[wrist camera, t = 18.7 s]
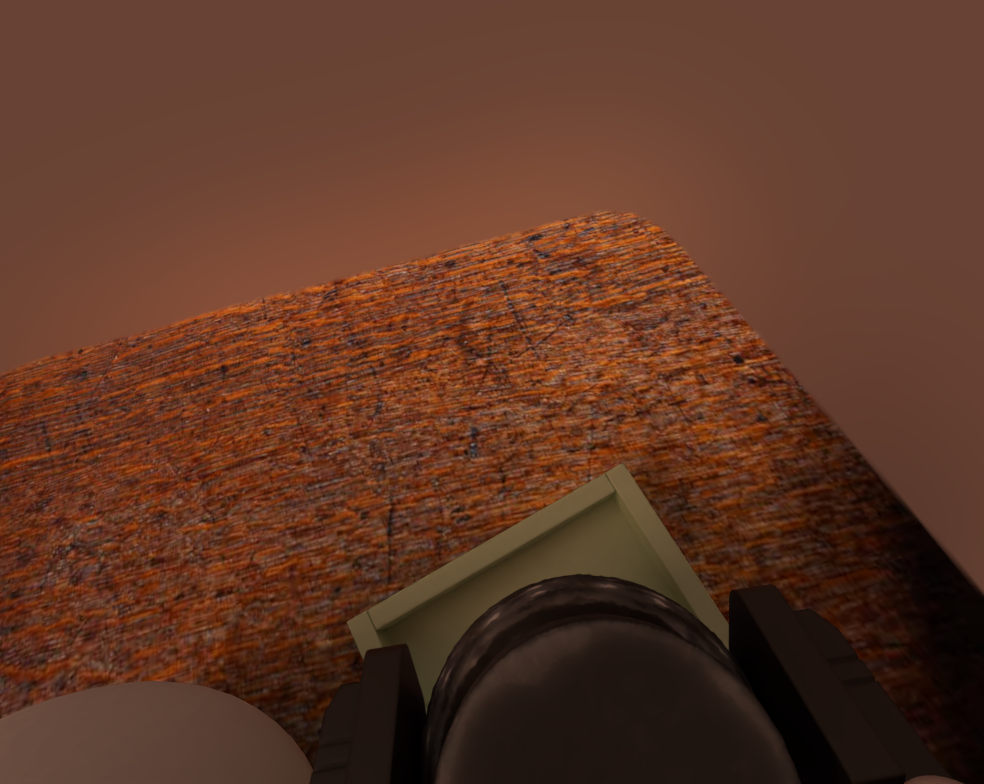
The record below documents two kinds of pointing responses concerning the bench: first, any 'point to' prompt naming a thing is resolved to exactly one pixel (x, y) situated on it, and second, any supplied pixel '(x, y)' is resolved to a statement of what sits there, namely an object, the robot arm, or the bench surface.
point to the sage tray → (538, 571)
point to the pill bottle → (596, 696)
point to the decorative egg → (148, 739)
